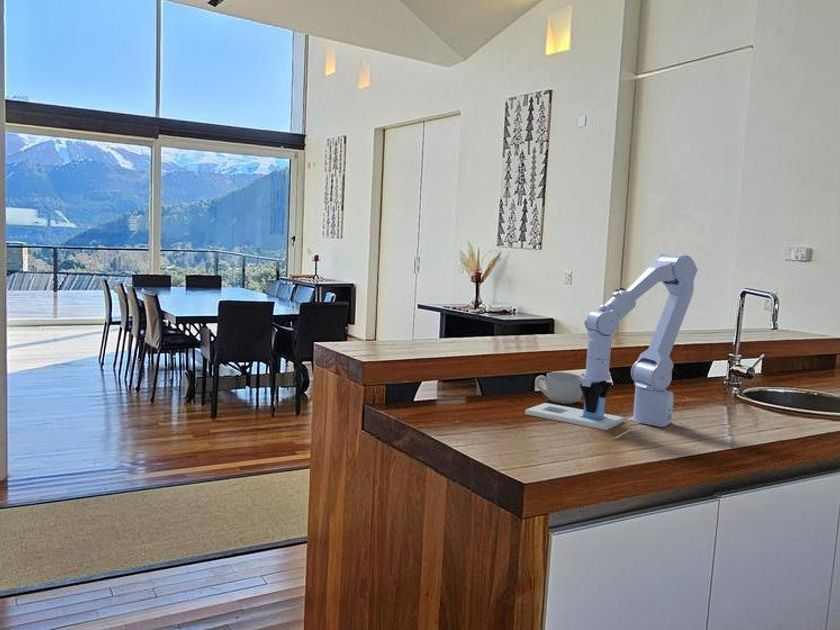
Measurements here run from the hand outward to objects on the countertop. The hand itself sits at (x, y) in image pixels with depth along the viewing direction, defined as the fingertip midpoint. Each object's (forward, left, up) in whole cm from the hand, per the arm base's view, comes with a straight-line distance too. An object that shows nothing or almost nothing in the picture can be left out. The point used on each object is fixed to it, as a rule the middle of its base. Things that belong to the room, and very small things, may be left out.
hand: (594, 410), depth 181 cm
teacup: (+17, -17, -3) cm, 25 cm away
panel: (+5, 0, -3) cm, 6 cm away
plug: (0, 0, -2) cm, 3 cm away
